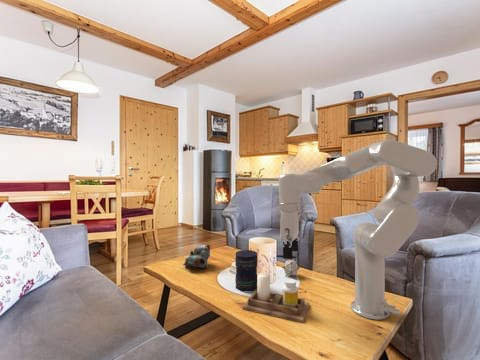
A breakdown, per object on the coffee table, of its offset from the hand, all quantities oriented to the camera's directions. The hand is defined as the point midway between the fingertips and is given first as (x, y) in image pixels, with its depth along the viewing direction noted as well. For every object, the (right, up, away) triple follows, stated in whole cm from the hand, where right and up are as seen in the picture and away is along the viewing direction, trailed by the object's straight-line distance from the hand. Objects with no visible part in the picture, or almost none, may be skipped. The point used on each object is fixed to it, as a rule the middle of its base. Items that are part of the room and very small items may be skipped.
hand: (291, 254), depth 93 cm
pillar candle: (-10, -20, +4) cm, 23 cm away
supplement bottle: (0, -19, 0) cm, 19 cm away
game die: (+6, -20, +33) cm, 39 cm away
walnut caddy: (-5, -20, +2) cm, 21 cm away
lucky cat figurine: (-42, -20, +46) cm, 65 cm away
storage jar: (-16, -20, +20) cm, 33 cm away
